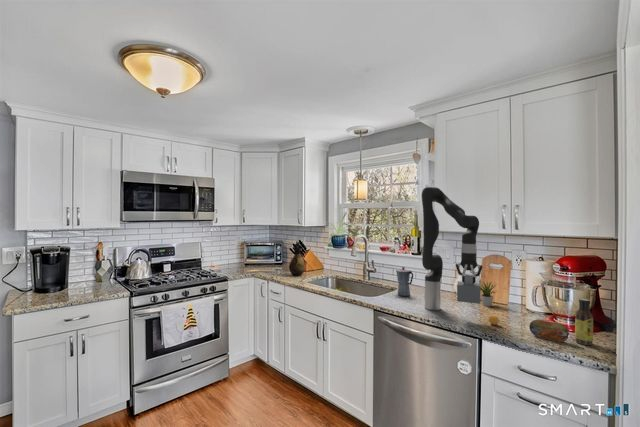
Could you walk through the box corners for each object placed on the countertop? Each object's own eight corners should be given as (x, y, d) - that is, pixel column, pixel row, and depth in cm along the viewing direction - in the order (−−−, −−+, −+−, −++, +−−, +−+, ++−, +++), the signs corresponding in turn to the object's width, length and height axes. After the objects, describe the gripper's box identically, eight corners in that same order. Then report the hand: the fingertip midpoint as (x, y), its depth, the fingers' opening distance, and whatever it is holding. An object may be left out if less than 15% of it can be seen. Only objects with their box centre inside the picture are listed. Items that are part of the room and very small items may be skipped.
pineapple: (308, 276, 294) (308, 244, 295) (293, 277, 286) (293, 244, 286) (299, 273, 309) (300, 242, 309) (285, 274, 301) (285, 243, 301)
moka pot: (399, 292, 237) (399, 265, 237) (417, 296, 225) (417, 268, 225) (391, 294, 231) (391, 266, 231) (409, 298, 219) (410, 269, 219)
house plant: (498, 303, 209) (498, 278, 209) (504, 309, 195) (504, 282, 195) (474, 301, 213) (475, 277, 213) (478, 307, 199) (479, 281, 200)
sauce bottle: (590, 347, 139) (590, 302, 139) (573, 342, 144) (573, 299, 144) (594, 344, 143) (595, 300, 143) (577, 339, 148) (577, 297, 148)
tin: (529, 335, 153) (529, 317, 153) (530, 333, 155) (530, 316, 155) (568, 344, 142) (568, 325, 142) (569, 342, 144) (569, 324, 144)
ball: (486, 323, 170) (486, 313, 170) (495, 322, 170) (495, 313, 170) (492, 326, 165) (492, 316, 165) (501, 326, 165) (501, 316, 165)
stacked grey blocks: (457, 301, 170) (457, 275, 170) (457, 296, 180) (457, 272, 180) (480, 303, 165) (480, 277, 165) (479, 298, 175) (479, 274, 175)
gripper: (454, 251, 173) (454, 283, 172) (483, 253, 167) (483, 285, 166) (455, 250, 179) (454, 280, 179) (483, 252, 173) (483, 283, 173)
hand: (468, 283), depth 173 cm, fingers closed on stacked grey blocks, 4 cm apart
